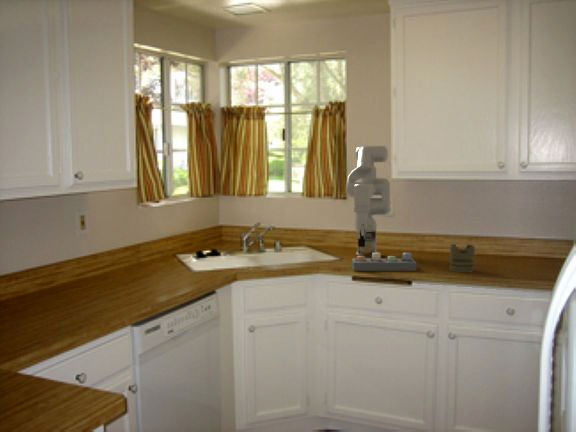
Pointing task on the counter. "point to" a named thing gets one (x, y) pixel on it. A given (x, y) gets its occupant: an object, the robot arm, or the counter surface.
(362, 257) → the terracotta button
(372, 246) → the coffee box
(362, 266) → the console
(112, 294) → the counter surface
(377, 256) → the cream button
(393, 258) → the sage button
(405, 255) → the slate button
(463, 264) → the olive tactical vest
